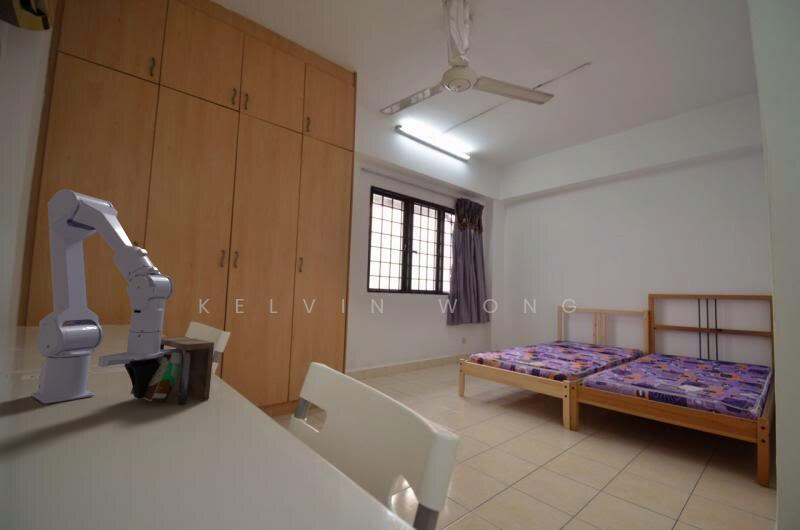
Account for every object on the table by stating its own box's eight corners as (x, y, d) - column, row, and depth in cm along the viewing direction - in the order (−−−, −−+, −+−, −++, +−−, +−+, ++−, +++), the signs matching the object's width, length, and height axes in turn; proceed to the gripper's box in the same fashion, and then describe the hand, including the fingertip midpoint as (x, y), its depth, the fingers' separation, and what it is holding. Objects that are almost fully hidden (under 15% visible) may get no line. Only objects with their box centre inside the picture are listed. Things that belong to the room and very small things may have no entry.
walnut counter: (148, 393, 83) (155, 337, 84) (176, 388, 88) (181, 336, 89) (180, 405, 75) (186, 344, 76) (208, 399, 80) (214, 342, 81)
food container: (184, 405, 77) (201, 357, 80) (154, 403, 72) (174, 352, 75) (156, 394, 83) (173, 351, 86) (127, 392, 78) (146, 346, 82)
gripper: (112, 335, 68) (103, 409, 67) (191, 331, 80) (184, 394, 79) (97, 331, 72) (89, 402, 70) (174, 328, 84) (168, 388, 83)
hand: (138, 397), depth 75 cm, fingers closed
